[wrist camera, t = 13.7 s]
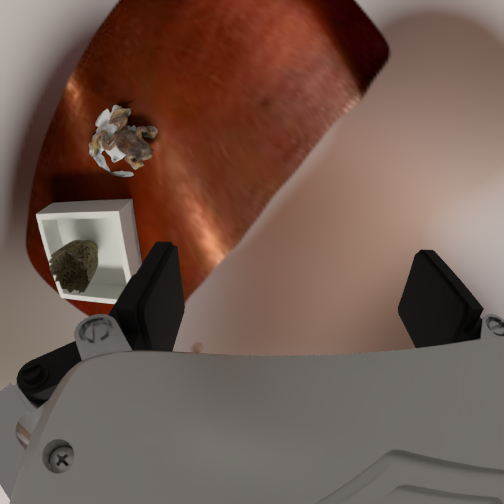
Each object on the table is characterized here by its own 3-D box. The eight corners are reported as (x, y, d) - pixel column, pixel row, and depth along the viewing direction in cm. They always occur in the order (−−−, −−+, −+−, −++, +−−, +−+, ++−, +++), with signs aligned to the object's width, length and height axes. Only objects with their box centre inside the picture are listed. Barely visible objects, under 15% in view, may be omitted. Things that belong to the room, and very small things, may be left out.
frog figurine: (178, 113, 36) (170, 114, 32) (147, 189, 41) (137, 197, 38) (110, 87, 33) (97, 87, 30) (85, 161, 39) (72, 167, 35)
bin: (52, 202, 41) (35, 214, 37) (132, 199, 41) (118, 211, 37) (73, 282, 49) (61, 297, 45) (147, 288, 49) (137, 306, 44)
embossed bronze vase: (77, 264, 46) (54, 290, 39) (69, 226, 42) (43, 249, 35) (112, 269, 46) (92, 297, 39) (106, 229, 42) (82, 254, 35)
